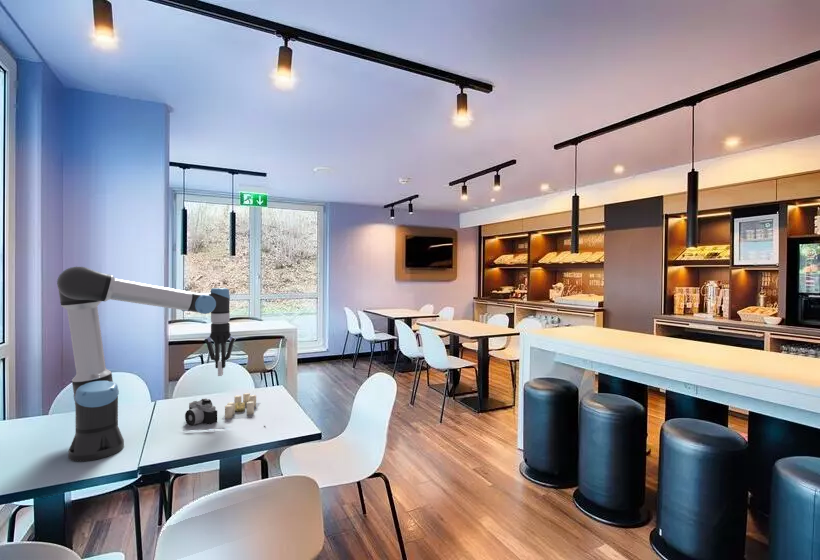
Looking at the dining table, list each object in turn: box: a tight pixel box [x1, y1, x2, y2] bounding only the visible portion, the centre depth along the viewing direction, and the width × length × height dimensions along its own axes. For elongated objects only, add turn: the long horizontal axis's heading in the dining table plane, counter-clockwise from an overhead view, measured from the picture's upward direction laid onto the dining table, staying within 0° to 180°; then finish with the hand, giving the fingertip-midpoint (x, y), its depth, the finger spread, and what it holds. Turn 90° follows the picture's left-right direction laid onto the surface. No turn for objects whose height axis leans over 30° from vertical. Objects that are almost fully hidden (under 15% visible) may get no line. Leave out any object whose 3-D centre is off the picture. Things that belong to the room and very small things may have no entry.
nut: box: [235, 401, 245, 412], centre depth 178 cm, size 4×4×3 cm
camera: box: [184, 398, 218, 426], centre depth 165 cm, size 16×9×10 cm, turn 62°
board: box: [221, 392, 261, 420], centre depth 179 cm, size 20×12×6 cm, turn 10°
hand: (220, 375), depth 177 cm, fingers closed
